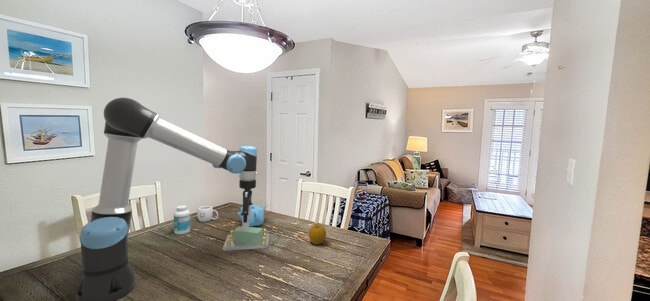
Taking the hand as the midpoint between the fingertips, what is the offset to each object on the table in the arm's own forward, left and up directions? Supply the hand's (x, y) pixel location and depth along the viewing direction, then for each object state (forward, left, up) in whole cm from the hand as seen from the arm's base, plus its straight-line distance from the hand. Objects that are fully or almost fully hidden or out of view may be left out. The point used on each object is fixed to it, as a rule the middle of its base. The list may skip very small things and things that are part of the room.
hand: (246, 223), depth 127 cm
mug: (+33, +25, -10) cm, 42 cm away
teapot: (+23, -1, -10) cm, 25 cm away
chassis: (0, 0, -10) cm, 10 cm away
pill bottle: (+17, +34, -10) cm, 39 cm away
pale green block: (0, -1, -8) cm, 8 cm away
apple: (-5, -33, -10) cm, 35 cm away
